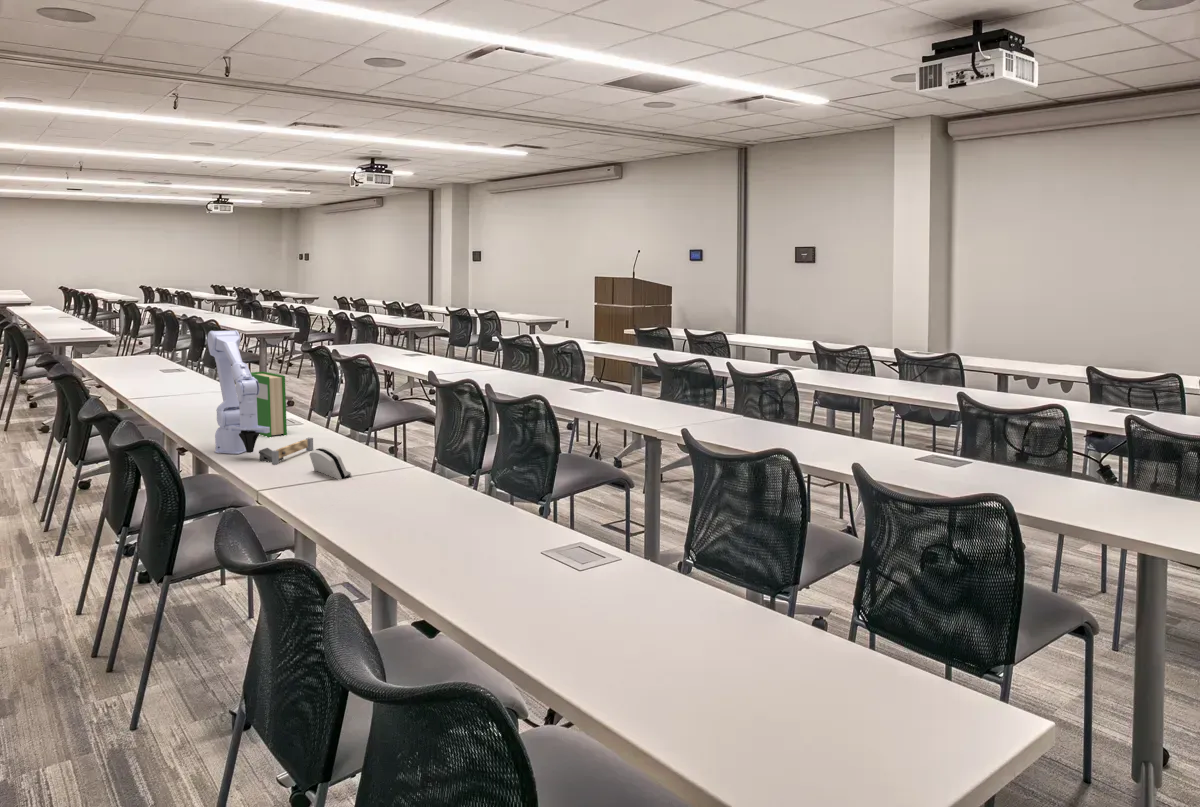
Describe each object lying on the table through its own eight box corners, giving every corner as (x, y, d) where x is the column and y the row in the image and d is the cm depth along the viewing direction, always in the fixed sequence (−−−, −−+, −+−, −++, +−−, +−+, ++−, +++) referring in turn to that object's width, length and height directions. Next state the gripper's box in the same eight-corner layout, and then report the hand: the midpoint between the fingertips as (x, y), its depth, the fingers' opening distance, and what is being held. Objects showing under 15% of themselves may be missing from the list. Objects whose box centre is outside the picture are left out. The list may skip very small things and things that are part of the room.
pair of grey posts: (272, 464, 293) (271, 451, 292) (309, 449, 318) (309, 437, 317) (276, 464, 293) (275, 451, 292) (313, 449, 318) (313, 437, 317)
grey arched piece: (352, 477, 278) (342, 450, 274) (340, 484, 275) (329, 456, 271) (328, 468, 290) (318, 441, 286) (316, 474, 287) (305, 448, 283)
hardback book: (286, 435, 343) (284, 375, 339) (269, 437, 338) (267, 377, 334) (265, 429, 355) (263, 371, 351) (248, 431, 349) (245, 372, 346)
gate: (306, 446, 315) (305, 438, 314) (310, 447, 315) (310, 439, 314) (275, 458, 295) (275, 450, 294) (280, 458, 295) (280, 450, 294)
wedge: (283, 459, 301) (283, 448, 300) (275, 462, 296) (275, 451, 295) (266, 458, 302) (266, 447, 301) (258, 461, 297) (258, 450, 296)
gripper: (222, 414, 295) (224, 453, 297) (261, 416, 293) (262, 455, 295) (234, 411, 302) (236, 449, 304) (272, 413, 300) (273, 451, 302)
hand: (250, 452), depth 300 cm, fingers closed
